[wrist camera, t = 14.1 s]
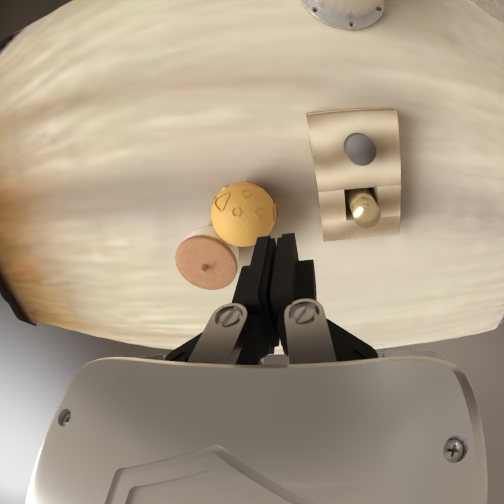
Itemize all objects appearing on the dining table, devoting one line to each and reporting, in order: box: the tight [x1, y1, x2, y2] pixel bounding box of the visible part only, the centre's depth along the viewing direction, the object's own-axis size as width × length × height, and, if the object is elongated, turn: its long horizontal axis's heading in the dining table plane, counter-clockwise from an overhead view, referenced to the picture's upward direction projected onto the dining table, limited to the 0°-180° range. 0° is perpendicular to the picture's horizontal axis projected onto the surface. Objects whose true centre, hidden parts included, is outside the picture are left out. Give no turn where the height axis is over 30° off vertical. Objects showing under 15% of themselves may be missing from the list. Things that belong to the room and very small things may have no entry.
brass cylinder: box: [345, 188, 381, 228], centre depth 39 cm, size 4×4×8 cm
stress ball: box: [211, 182, 277, 247], centre depth 42 cm, size 10×10×10 cm
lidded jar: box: [175, 225, 239, 290], centre depth 48 cm, size 11×11×9 cm
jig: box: [305, 108, 401, 242], centre depth 38 cm, size 20×13×7 cm, turn 12°
